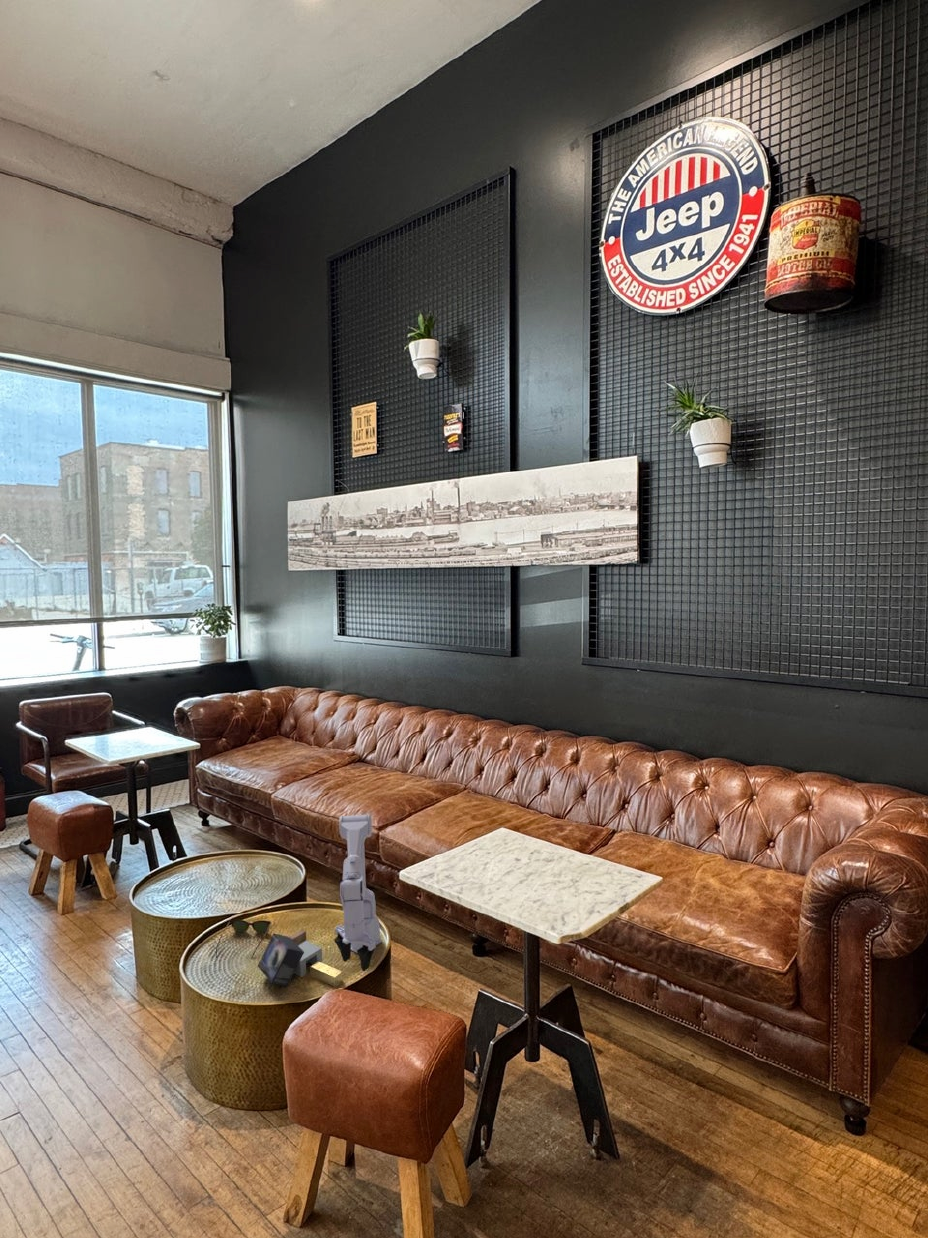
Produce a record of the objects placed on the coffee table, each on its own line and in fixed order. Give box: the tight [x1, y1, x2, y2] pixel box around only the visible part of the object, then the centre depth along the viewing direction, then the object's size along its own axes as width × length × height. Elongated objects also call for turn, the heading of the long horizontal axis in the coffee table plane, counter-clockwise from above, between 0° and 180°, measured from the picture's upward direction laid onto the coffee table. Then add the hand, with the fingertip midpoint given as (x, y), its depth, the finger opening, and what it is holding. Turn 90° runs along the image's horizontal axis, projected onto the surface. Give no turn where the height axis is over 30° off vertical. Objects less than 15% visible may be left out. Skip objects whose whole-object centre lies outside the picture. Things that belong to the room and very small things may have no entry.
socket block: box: [293, 940, 323, 978], centre depth 224 cm, size 8×7×5 cm
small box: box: [257, 932, 304, 987], centre depth 218 cm, size 11×6×10 cm
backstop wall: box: [288, 929, 307, 945], centre depth 228 cm, size 13×2×6 cm, turn 142°
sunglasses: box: [215, 919, 272, 959], centre depth 236 cm, size 14×15×5 cm
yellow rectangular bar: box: [309, 961, 343, 987], centre depth 218 cm, size 3×10×3 cm, turn 56°
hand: (356, 964), depth 208 cm, fingers open, 7 cm apart
